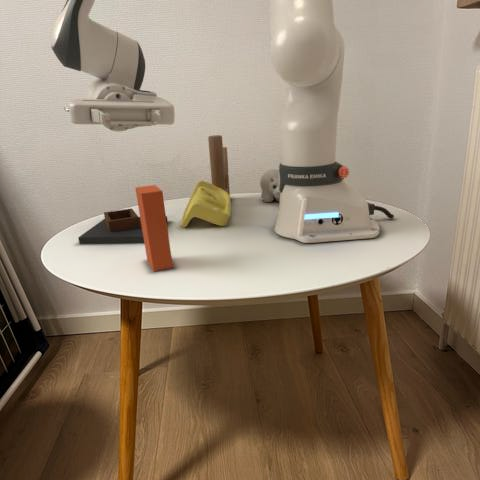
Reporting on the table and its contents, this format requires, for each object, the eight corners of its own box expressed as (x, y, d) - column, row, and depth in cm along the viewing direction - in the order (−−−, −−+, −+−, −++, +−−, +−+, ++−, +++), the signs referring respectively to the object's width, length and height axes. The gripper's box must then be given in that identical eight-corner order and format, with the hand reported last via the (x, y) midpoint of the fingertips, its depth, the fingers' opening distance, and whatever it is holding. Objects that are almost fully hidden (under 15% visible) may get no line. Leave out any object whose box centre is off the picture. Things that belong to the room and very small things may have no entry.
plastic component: (230, 217, 99) (189, 200, 97) (219, 244, 103) (179, 229, 101) (230, 192, 116) (195, 177, 114) (220, 216, 119) (186, 202, 117)
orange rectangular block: (147, 261, 83) (135, 187, 77) (165, 258, 84) (155, 184, 78) (153, 271, 78) (141, 193, 72) (172, 268, 79) (162, 190, 73)
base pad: (167, 222, 107) (165, 206, 105) (149, 242, 93) (146, 224, 92) (106, 223, 109) (103, 207, 107) (79, 244, 95) (75, 226, 93)
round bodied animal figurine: (265, 209, 114) (264, 175, 110) (259, 198, 124) (258, 167, 120) (291, 206, 114) (292, 173, 110) (283, 196, 124) (283, 166, 120)
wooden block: (230, 198, 126) (226, 132, 118) (226, 207, 117) (221, 136, 108) (217, 199, 127) (212, 132, 118) (212, 208, 117) (206, 137, 109)
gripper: (60, 88, 84) (70, 98, 74) (161, 92, 92) (183, 101, 82) (64, 123, 87) (75, 137, 77) (162, 124, 96) (183, 136, 85)
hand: (132, 119), depth 80 cm, fingers open, 8 cm apart
